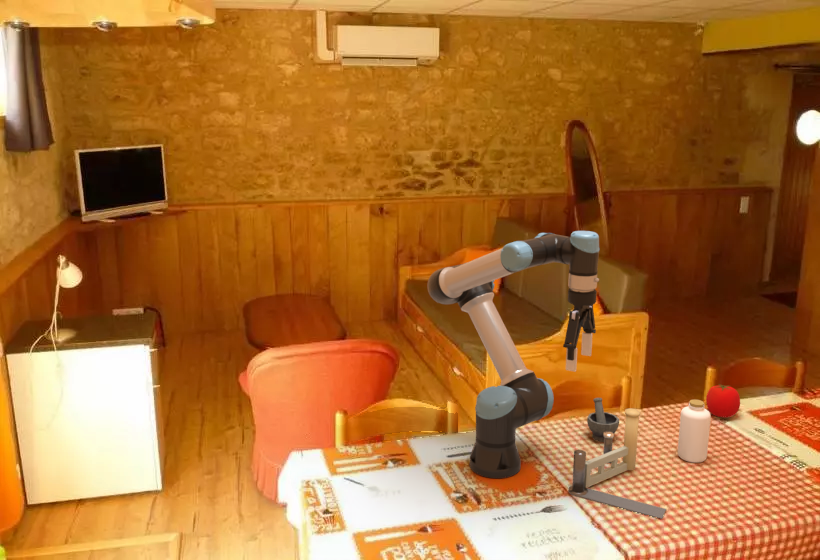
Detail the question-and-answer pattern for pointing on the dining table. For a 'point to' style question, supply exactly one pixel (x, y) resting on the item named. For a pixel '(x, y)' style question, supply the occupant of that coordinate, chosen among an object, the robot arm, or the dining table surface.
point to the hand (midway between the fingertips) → (578, 362)
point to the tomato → (723, 401)
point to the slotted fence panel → (616, 453)
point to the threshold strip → (624, 503)
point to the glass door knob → (608, 442)
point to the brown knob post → (578, 474)
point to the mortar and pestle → (601, 421)
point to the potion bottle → (694, 432)
